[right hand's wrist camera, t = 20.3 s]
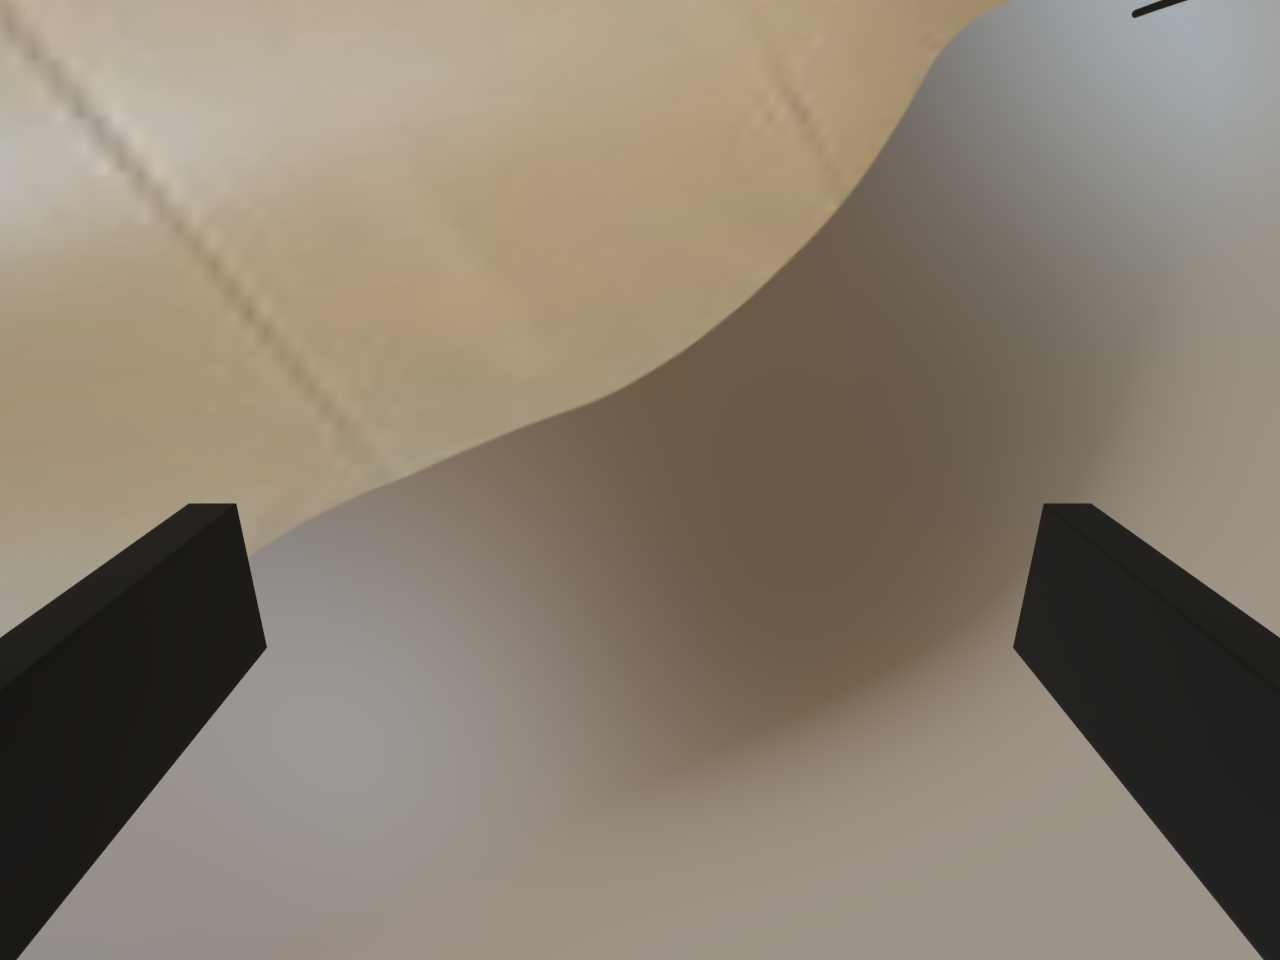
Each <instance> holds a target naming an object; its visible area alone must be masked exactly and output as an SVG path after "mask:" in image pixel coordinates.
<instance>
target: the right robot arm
mask: <svg viewBox="0 0 1280 960" xmlns="http://www.w3.org/2000/svg"><path fill="white" fill-rule="evenodd" d="M1184 1H1187V0H1160V1H1158V2H1155V3H1152V4H1149V5H1147V6H1144V7H1141V8H1138V9H1136V10H1134V11H1133V12H1132V17H1133V18H1137V17H1140V16H1143V15H1145V14H1148V13H1151V12H1154V11H1157V10H1160V9H1163V8H1166V7H1169V6H1172V5H1175V4H1178V3H1181V2H1184ZM266 648H267V646H266V641H265V637H264V632H263V627H262V622H261V618H260V613H259V608H258V604H257V599H256V594H255V590H254V585H253V580H252V576H251V571H250V566H249V561H248V557H247V552H246V547H245V543H244V538H243V533H242V529H241V524H240V519H239V515H238V510H237V505H236V504H188V505H186V506H185V507H183V508H182V509H181V510H179V511H178V512H176V513H175V514H174V515H172V516H171V517H169V518H168V519H167V520H165V521H164V522H162V523H161V524H160V525H158V526H157V527H155V528H154V529H153V530H151V531H150V532H148V533H147V534H146V535H144V536H143V537H141V538H140V539H138V540H137V541H136V542H134V543H133V544H131V545H130V546H129V547H127V548H126V549H124V550H123V551H122V552H120V553H119V554H117V555H116V556H115V557H113V558H112V559H110V560H109V561H108V562H106V563H105V564H103V565H102V566H101V567H99V568H98V569H96V570H95V571H94V572H92V573H91V574H89V575H88V576H86V577H85V578H84V579H82V580H81V581H79V582H78V583H77V584H75V585H74V586H72V587H71V588H70V589H68V590H67V591H65V592H64V593H63V594H61V595H60V596H58V597H57V598H56V599H54V600H53V601H51V602H50V603H49V604H47V605H46V606H44V607H43V608H41V609H40V610H39V611H37V612H36V613H34V614H33V615H32V616H30V617H29V618H27V619H26V620H25V621H23V622H22V623H20V624H19V625H18V626H16V627H15V628H13V629H12V630H11V631H9V632H8V633H6V634H5V635H4V636H2V637H1V638H0V960H16V959H17V958H18V957H19V956H20V954H21V953H22V952H23V951H24V950H25V948H26V947H27V946H28V945H29V943H30V942H31V941H32V940H33V938H34V937H35V936H36V935H37V933H38V932H39V931H40V930H41V928H42V927H43V926H44V925H45V923H46V922H47V921H48V920H49V918H50V917H51V916H52V915H53V913H54V912H55V911H56V910H57V908H58V907H59V906H60V905H61V903H62V902H63V901H64V900H65V898H66V897H67V896H68V895H69V893H70V892H71V891H72V890H73V889H74V887H75V886H76V885H77V884H78V882H79V881H80V880H81V878H82V877H83V876H84V875H85V874H86V872H87V871H88V870H89V869H90V867H91V866H92V865H93V864H94V862H95V861H96V860H97V859H98V857H99V856H100V855H101V854H102V852H103V851H104V850H105V849H106V847H107V846H108V845H109V844H110V842H111V841H112V840H113V839H114V837H115V836H116V835H117V834H118V832H119V831H120V830H121V829H122V827H123V826H124V825H125V824H126V822H127V821H128V820H129V819H130V817H131V816H132V815H133V814H134V813H135V811H136V810H137V809H138V808H139V806H140V805H141V804H142V803H143V801H144V800H145V799H146V797H147V796H148V795H149V794H150V793H151V791H152V790H153V789H154V788H155V786H156V785H157V784H158V783H159V781H160V780H161V779H162V778H163V776H164V775H165V774H166V773H167V771H168V770H169V769H170V768H171V766H172V765H173V764H174V763H175V761H176V760H177V759H178V758H179V756H180V755H181V754H182V753H183V751H184V750H185V749H186V748H187V747H188V745H189V744H190V743H191V742H192V740H193V739H194V738H195V737H196V735H197V734H198V733H199V732H200V730H201V729H202V728H203V727H204V725H205V724H206V723H207V722H208V720H209V719H210V718H211V717H212V715H213V714H214V713H215V712H216V710H217V709H218V708H219V707H220V705H221V704H222V703H223V702H224V700H225V699H226V698H227V697H228V695H229V694H230V693H231V692H232V690H233V689H234V688H235V687H236V685H237V684H238V683H239V682H240V680H241V679H242V678H243V677H244V675H245V674H246V673H247V672H248V670H249V669H250V668H251V667H252V666H253V664H254V663H255V662H256V661H257V659H258V658H259V657H260V656H261V654H262V653H263V652H264V651H265V649H266ZM1013 648H1014V649H1015V651H1016V652H1017V653H1018V654H1019V656H1020V657H1021V658H1022V659H1023V661H1024V662H1025V663H1026V664H1027V665H1028V667H1029V668H1030V669H1031V670H1032V672H1033V673H1034V674H1035V675H1036V677H1037V678H1038V679H1039V680H1040V682H1041V683H1042V684H1043V685H1044V687H1045V688H1046V689H1047V690H1048V692H1049V693H1050V694H1051V695H1052V697H1053V698H1054V699H1055V700H1056V702H1057V703H1058V704H1059V705H1060V707H1061V708H1062V709H1063V710H1064V712H1065V713H1066V714H1067V715H1068V717H1069V718H1070V719H1071V720H1072V722H1073V723H1074V724H1075V725H1076V727H1077V728H1078V729H1079V730H1080V731H1081V733H1082V734H1083V735H1084V737H1085V738H1086V739H1087V740H1088V741H1089V743H1090V744H1091V745H1092V746H1093V748H1094V749H1095V750H1096V751H1097V753H1098V754H1099V755H1100V756H1101V758H1102V759H1103V760H1104V761H1105V763H1106V764H1107V765H1108V766H1109V768H1110V769H1111V770H1112V771H1113V773H1114V774H1115V775H1116V776H1117V778H1118V779H1119V780H1120V781H1121V783H1122V784H1123V785H1124V786H1125V788H1126V789H1127V790H1128V791H1129V793H1130V794H1131V795H1132V796H1133V797H1134V799H1135V800H1136V801H1137V803H1138V804H1139V805H1140V806H1141V808H1142V809H1143V810H1144V811H1145V813H1146V814H1147V815H1148V816H1149V818H1150V819H1151V820H1152V821H1153V822H1154V824H1155V825H1156V826H1157V827H1158V829H1159V830H1160V831H1161V832H1162V834H1163V835H1164V836H1165V837H1166V839H1167V840H1168V841H1169V842H1170V844H1171V845H1172V846H1173V847H1174V849H1175V850H1176V851H1177V852H1178V854H1179V855H1180V856H1181V857H1182V859H1183V860H1184V861H1185V862H1186V863H1187V865H1188V866H1189V867H1190V869H1191V870H1192V871H1193V872H1194V873H1195V875H1196V876H1197V877H1198V879H1199V880H1200V881H1201V882H1202V883H1203V885H1204V886H1205V887H1206V889H1207V890H1208V891H1209V892H1210V893H1211V895H1212V896H1213V897H1214V898H1215V900H1216V901H1217V902H1218V903H1219V905H1220V906H1221V907H1222V908H1223V910H1224V911H1225V912H1226V913H1227V915H1228V916H1229V917H1230V918H1231V920H1232V921H1233V922H1234V923H1235V925H1236V926H1237V927H1238V928H1239V930H1240V931H1241V932H1242V933H1243V935H1244V936H1245V937H1246V938H1247V940H1248V941H1249V942H1250V943H1251V945H1252V946H1253V947H1254V948H1255V949H1256V951H1257V952H1258V953H1259V955H1260V956H1261V957H1262V958H1263V960H1280V638H1279V637H1278V636H1276V635H1275V634H1274V633H1272V632H1271V631H1269V630H1268V629H1267V628H1265V627H1264V626H1262V625H1261V624H1260V623H1258V622H1257V621H1255V620H1254V619H1253V618H1251V617H1250V616H1248V615H1247V614H1246V613H1244V612H1243V611H1241V610H1240V609H1238V608H1237V607H1236V606H1234V605H1233V604H1231V603H1230V602H1229V601H1227V600H1226V599H1224V598H1223V597H1222V596H1220V595H1219V594H1217V593H1216V592H1215V591H1213V590H1212V589H1210V588H1209V587H1208V586H1206V585H1205V584H1203V583H1202V582H1200V581H1199V580H1198V579H1196V578H1195V577H1194V576H1192V575H1191V574H1189V573H1188V572H1186V571H1185V570H1184V569H1182V568H1181V567H1179V566H1178V565H1177V564H1175V563H1174V562H1172V561H1171V560H1169V559H1168V558H1167V557H1165V556H1164V555H1163V554H1161V553H1160V552H1158V551H1157V550H1156V549H1154V548H1153V547H1151V546H1150V545H1149V544H1147V543H1146V542H1144V541H1143V540H1141V539H1140V538H1139V537H1137V536H1136V535H1134V534H1133V533H1132V532H1130V531H1129V530H1127V529H1126V528H1125V527H1123V526H1122V525H1120V524H1119V523H1118V522H1116V521H1115V520H1113V519H1112V518H1111V517H1109V516H1108V515H1106V514H1105V513H1104V512H1102V511H1101V510H1099V509H1098V508H1097V507H1095V506H1094V505H1092V504H1044V505H1043V510H1042V515H1041V519H1040V524H1039V529H1038V533H1037V538H1036V543H1035V547H1034V552H1033V557H1032V561H1031V566H1030V571H1029V576H1028V580H1027V585H1026V590H1025V594H1024V599H1023V604H1022V608H1021V613H1020V618H1019V623H1018V627H1017V632H1016V637H1015V641H1014V646H1013Z"/></svg>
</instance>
